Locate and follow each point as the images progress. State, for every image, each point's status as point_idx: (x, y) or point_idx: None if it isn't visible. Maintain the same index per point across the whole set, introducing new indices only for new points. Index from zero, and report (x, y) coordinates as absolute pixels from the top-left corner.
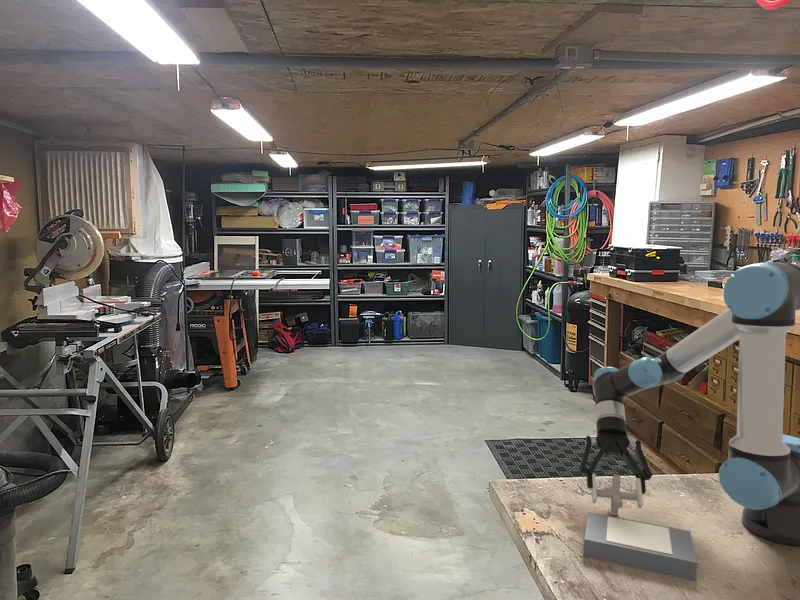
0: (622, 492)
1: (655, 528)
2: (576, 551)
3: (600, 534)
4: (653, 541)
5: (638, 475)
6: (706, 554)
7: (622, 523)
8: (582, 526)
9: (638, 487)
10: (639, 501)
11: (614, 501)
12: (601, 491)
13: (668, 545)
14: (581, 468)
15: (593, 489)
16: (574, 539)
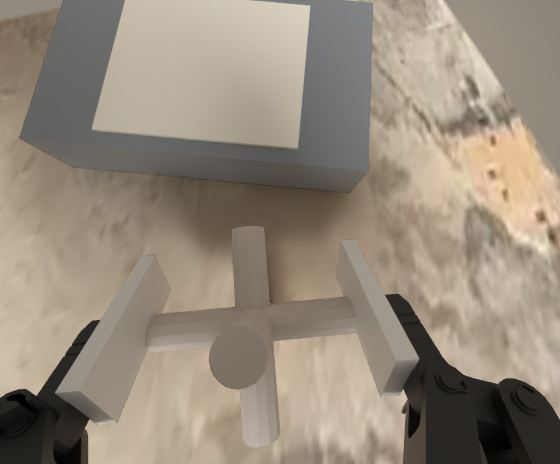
0: (218, 326)
1: (139, 114)
2: (372, 68)
3: (325, 39)
4: (167, 36)
5: (51, 436)
6: (35, 147)
7: (250, 114)
8: (362, 193)
9: (114, 322)
10: (151, 265)
11: (265, 248)
12: (322, 308)
13: (126, 27)
14: (529, 394)
15: (370, 270)
16: (380, 119)
